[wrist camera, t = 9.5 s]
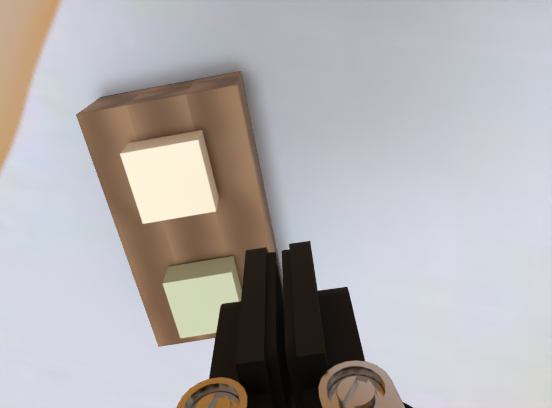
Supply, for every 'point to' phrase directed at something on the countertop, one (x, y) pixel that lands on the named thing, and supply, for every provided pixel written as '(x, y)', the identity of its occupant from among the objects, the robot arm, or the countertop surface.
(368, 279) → the countertop surface
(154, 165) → the cream block
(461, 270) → the countertop surface
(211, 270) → the pale green block
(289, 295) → the robot arm
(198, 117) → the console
